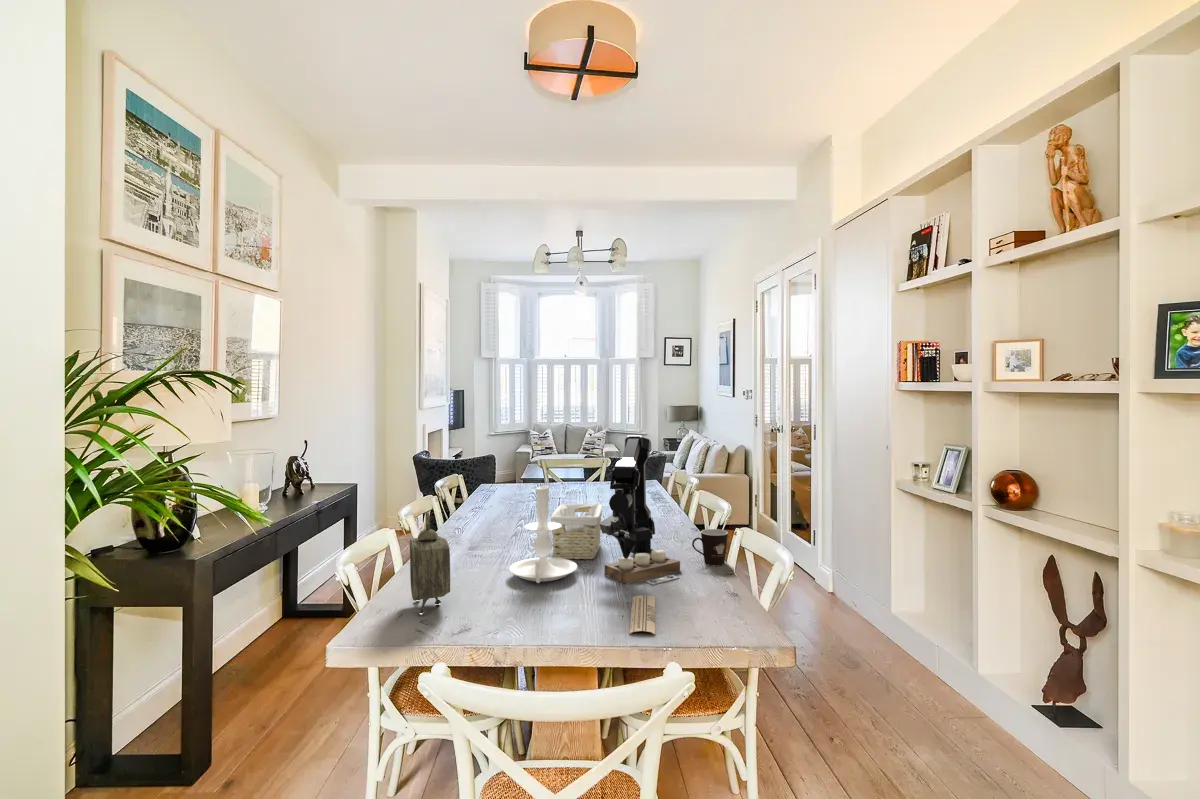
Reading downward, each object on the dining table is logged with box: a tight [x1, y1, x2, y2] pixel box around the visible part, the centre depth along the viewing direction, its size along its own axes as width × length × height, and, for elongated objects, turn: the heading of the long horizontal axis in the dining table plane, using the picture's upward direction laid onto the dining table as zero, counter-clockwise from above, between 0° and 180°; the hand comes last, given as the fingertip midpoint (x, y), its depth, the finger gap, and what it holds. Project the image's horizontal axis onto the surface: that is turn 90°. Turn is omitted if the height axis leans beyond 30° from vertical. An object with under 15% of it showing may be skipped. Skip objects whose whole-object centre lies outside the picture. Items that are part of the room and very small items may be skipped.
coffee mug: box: [691, 528, 729, 567], centre depth 196 cm, size 12×9×10 cm
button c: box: [651, 549, 667, 563], centre depth 190 cm, size 4×4×3 cm
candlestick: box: [508, 485, 578, 584], centre depth 180 cm, size 21×25×28 cm
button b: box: [634, 553, 651, 567], centre depth 186 cm, size 4×4×3 cm
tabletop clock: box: [409, 511, 451, 614], centre depth 158 cm, size 14×9×25 cm, turn 21°
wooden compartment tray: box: [604, 553, 681, 585], centre depth 186 cm, size 11×21×3 cm, turn 125°
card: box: [644, 574, 680, 586], centre depth 179 cm, size 4×10×1 cm, turn 125°
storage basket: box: [550, 503, 603, 560], centre depth 211 cm, size 24×16×15 cm
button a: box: [618, 556, 633, 571], centre depth 182 cm, size 4×4×3 cm
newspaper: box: [629, 594, 656, 636], centre depth 151 cm, size 24×7×2 cm, turn 175°
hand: (625, 557), depth 182 cm, fingers closed
